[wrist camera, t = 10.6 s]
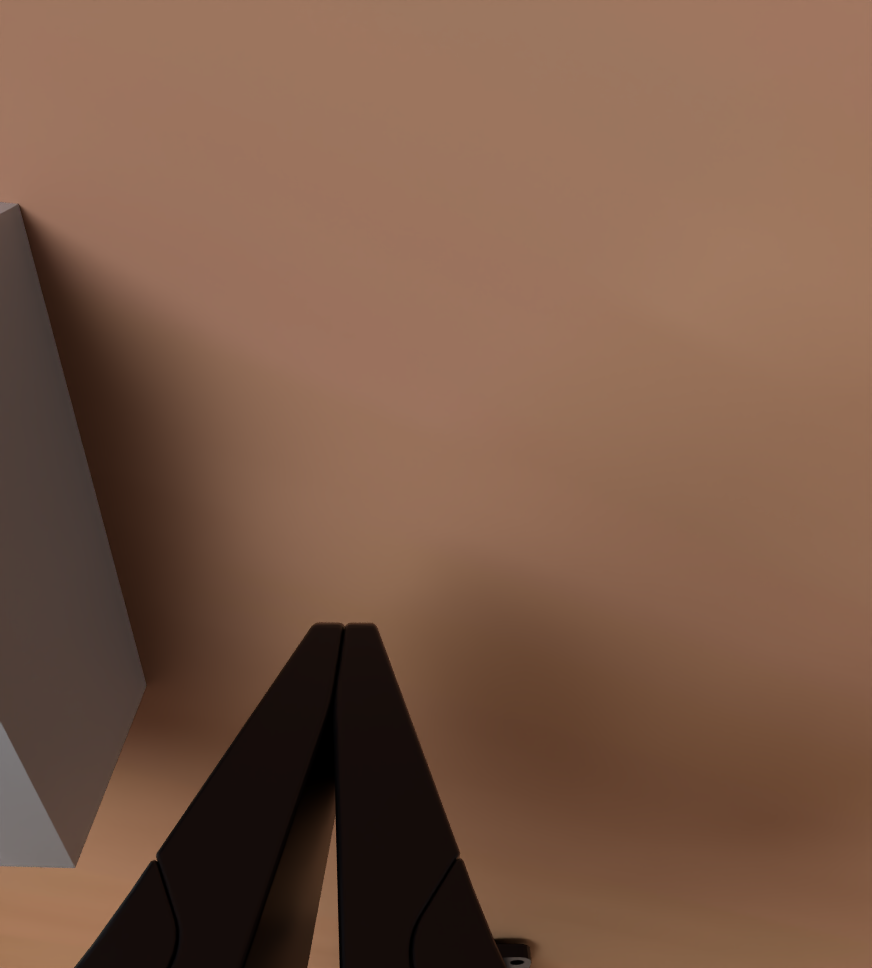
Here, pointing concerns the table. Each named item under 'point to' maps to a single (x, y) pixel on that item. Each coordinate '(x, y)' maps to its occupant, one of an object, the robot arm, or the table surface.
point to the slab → (52, 594)
